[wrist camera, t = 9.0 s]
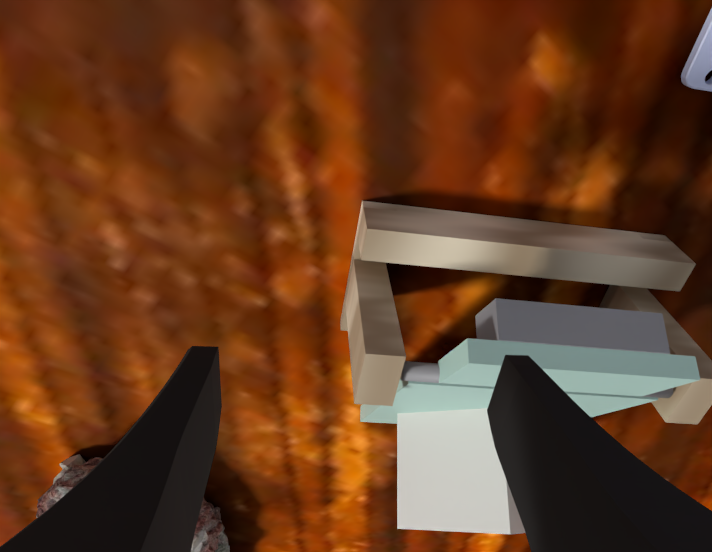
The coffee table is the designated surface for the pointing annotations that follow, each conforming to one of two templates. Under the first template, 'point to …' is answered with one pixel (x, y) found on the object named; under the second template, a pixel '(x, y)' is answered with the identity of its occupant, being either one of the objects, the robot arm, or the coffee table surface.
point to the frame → (512, 257)
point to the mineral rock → (209, 532)
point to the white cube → (452, 475)
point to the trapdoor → (548, 360)
